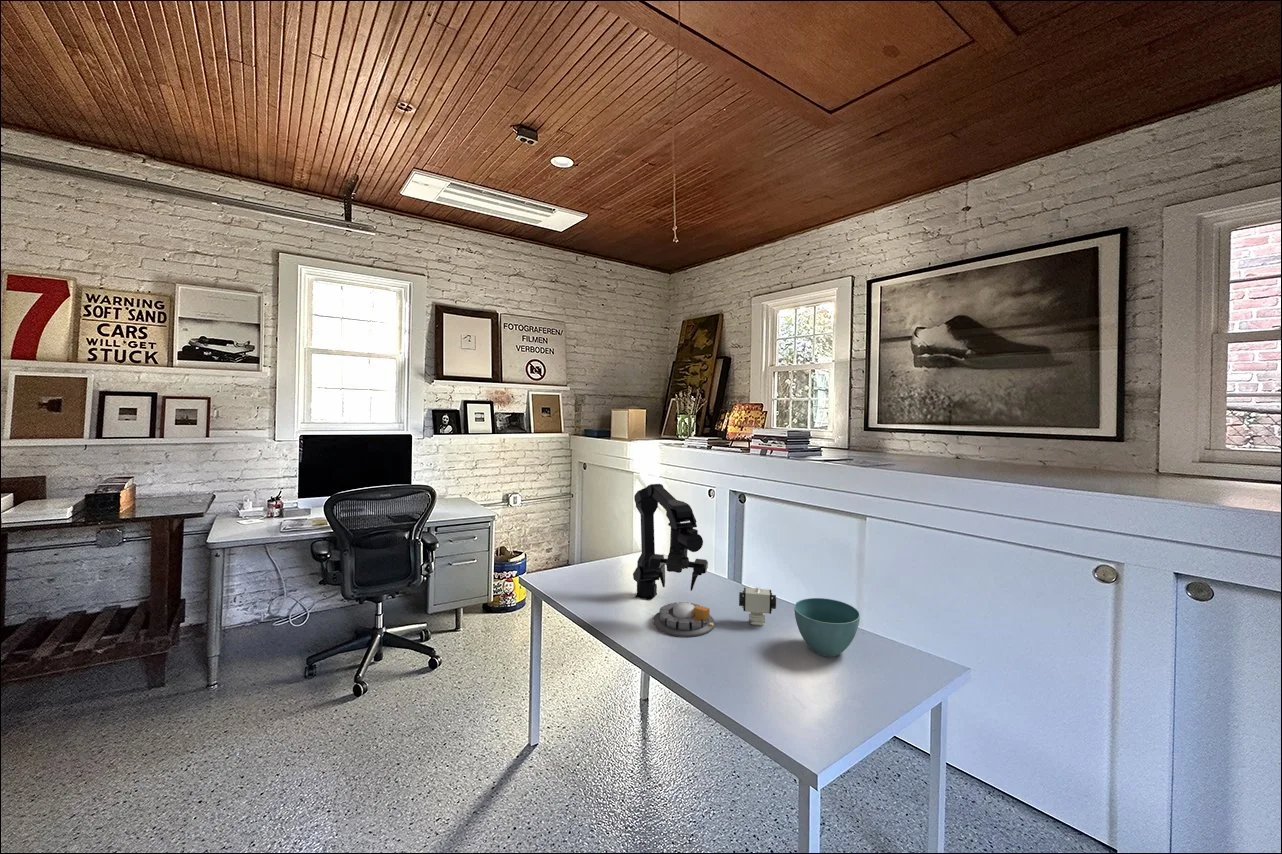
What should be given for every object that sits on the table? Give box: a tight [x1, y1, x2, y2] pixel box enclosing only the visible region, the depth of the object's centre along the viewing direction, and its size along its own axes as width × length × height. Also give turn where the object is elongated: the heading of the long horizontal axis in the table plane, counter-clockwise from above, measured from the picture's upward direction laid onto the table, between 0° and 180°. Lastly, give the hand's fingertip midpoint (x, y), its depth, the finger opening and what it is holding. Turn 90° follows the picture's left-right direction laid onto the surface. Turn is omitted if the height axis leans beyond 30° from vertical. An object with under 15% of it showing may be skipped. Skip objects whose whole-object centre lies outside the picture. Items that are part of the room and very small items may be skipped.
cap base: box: [652, 602, 715, 638], centre depth 173 cm, size 20×20×6 cm
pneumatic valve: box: [738, 587, 777, 627], centre depth 174 cm, size 6×12×12 cm, turn 78°
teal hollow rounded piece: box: [793, 597, 861, 658], centre depth 156 cm, size 18×18×12 cm
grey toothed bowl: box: [658, 602, 711, 631], centre depth 173 cm, size 16×17×5 cm
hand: (677, 588), depth 173 cm, fingers open, 9 cm apart
